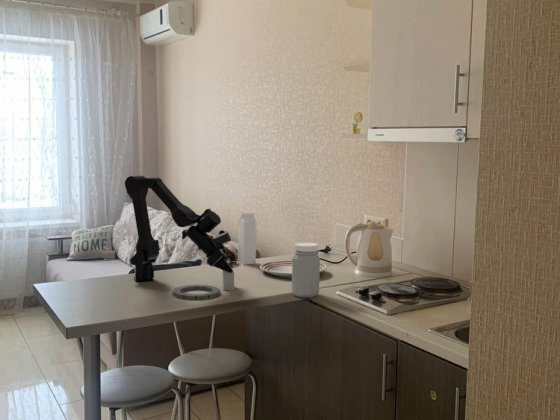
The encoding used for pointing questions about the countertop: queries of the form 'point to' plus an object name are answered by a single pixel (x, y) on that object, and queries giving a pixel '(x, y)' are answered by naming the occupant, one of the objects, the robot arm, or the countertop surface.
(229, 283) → the tea bag
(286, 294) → the countertop surface
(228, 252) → the pottery mug
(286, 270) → the dinner plate
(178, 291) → the ring
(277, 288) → the countertop surface
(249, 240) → the milk
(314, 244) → the jar
